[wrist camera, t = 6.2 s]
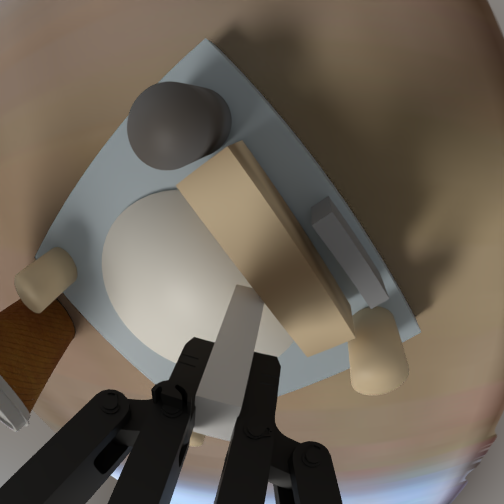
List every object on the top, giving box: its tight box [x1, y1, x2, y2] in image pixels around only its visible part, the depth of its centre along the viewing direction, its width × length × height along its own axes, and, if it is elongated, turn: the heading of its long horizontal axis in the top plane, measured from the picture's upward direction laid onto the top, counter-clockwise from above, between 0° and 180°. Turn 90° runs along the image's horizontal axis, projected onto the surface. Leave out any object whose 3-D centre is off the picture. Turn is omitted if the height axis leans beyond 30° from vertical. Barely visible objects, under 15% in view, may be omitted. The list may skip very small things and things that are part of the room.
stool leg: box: [127, 81, 355, 357], centre depth 13 cm, size 14×3×3 cm, turn 35°
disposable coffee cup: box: [0, 299, 75, 432], centre depth 19 cm, size 10×10×12 cm
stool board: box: [14, 38, 421, 446], centre depth 16 cm, size 20×20×6 cm
